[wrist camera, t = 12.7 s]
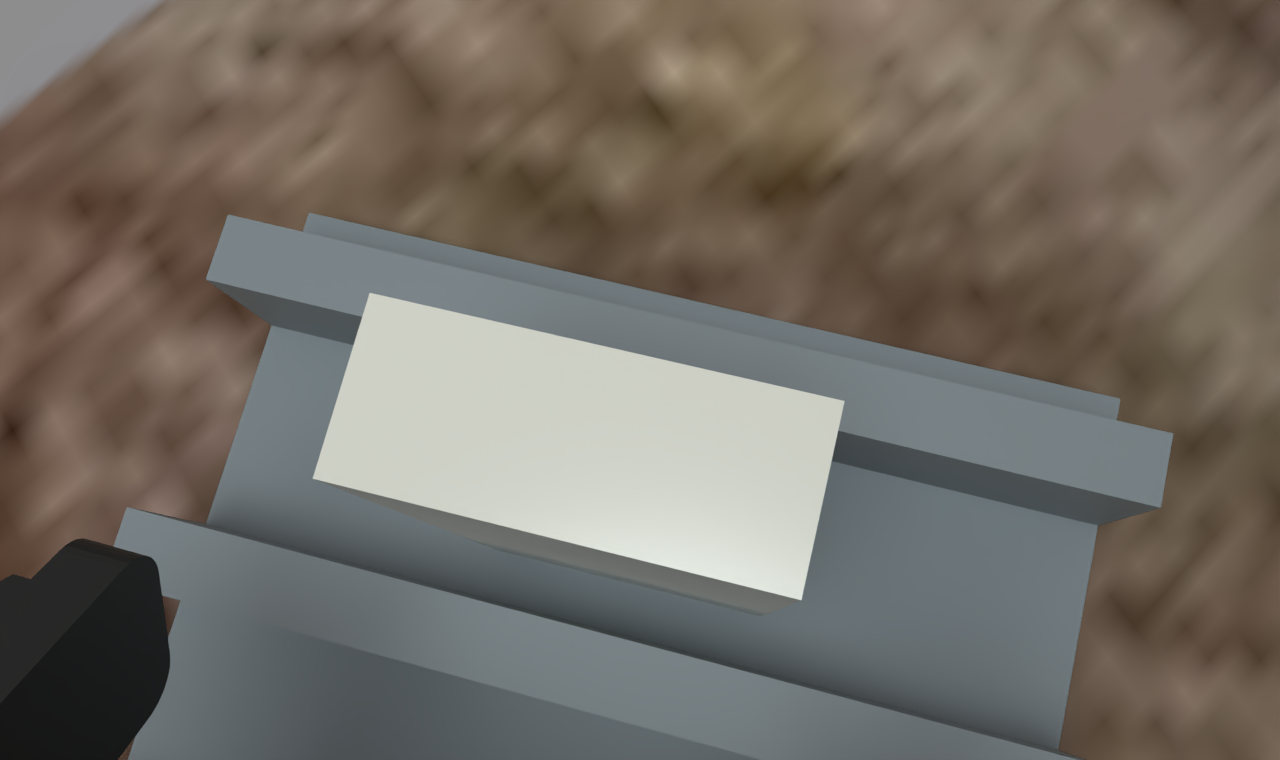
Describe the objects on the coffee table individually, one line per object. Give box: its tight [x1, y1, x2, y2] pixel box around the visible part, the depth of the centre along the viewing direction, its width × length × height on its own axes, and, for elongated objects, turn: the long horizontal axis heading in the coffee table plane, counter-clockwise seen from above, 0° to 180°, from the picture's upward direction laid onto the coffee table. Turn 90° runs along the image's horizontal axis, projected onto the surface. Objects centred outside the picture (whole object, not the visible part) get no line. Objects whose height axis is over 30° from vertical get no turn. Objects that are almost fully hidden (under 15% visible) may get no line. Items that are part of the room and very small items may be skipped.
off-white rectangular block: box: [313, 293, 845, 616], centre depth 16 cm, size 5×2×10 cm, turn 76°
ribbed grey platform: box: [113, 213, 1173, 760], centre depth 20 cm, size 16×14×4 cm
